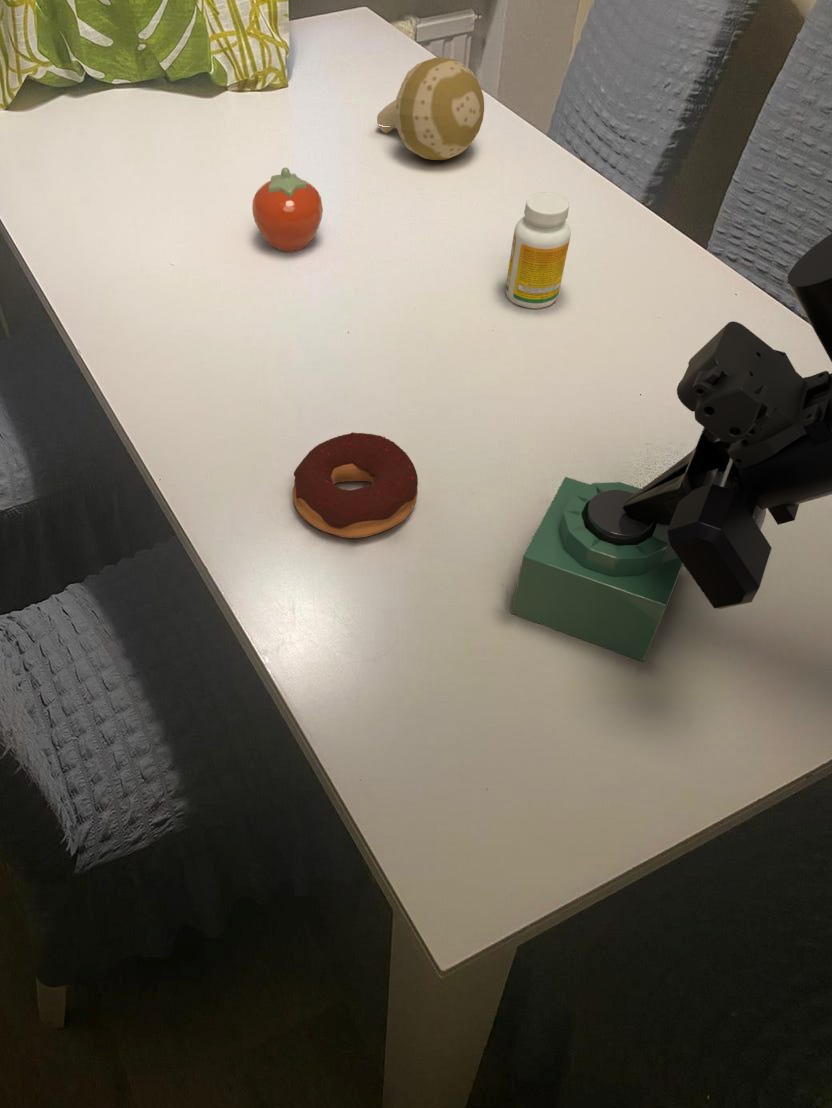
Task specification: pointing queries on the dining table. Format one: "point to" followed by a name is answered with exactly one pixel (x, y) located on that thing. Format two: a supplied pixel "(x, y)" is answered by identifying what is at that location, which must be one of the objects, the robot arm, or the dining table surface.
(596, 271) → the dining table surface
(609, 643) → the button base
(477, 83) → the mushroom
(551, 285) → the supplement bottle
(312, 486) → the donut
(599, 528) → the dark round knob
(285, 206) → the tomato
